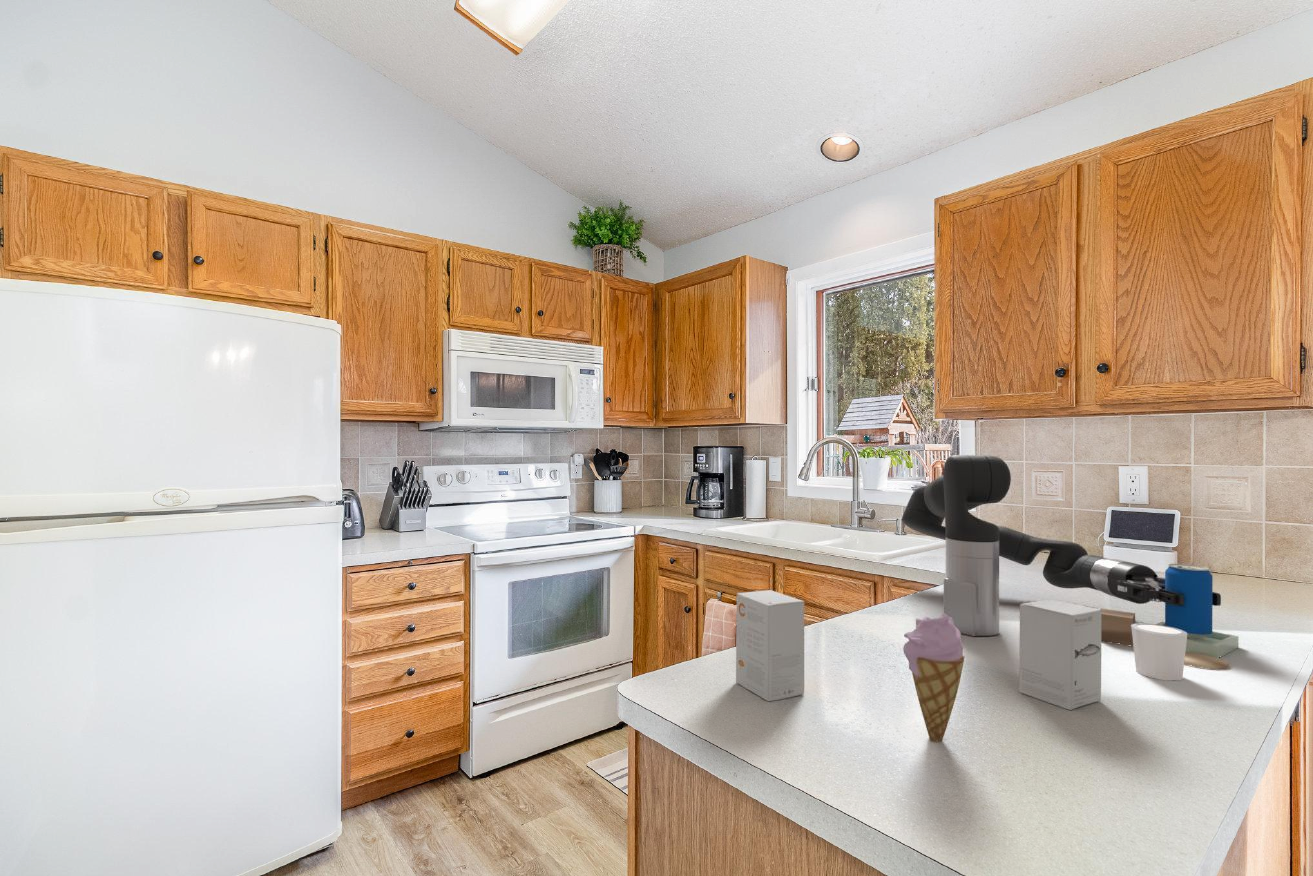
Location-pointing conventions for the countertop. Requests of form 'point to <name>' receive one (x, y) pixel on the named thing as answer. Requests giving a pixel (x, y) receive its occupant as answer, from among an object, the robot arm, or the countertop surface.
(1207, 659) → the cork coaster
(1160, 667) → the white cup
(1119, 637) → the walnut block
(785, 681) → the small box
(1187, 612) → the beverage can
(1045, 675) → the supplement box
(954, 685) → the ice cream cone
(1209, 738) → the countertop surface
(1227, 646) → the tray
